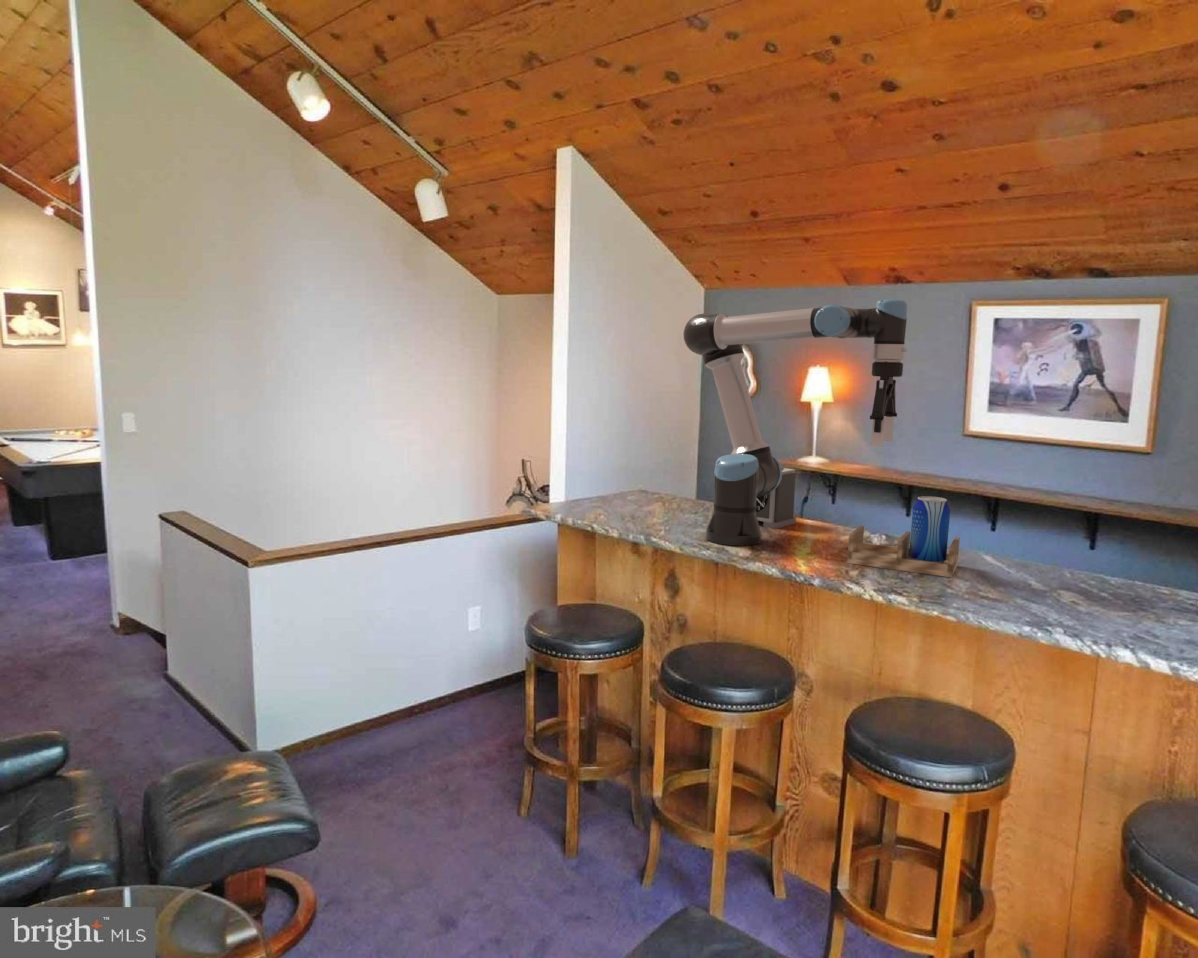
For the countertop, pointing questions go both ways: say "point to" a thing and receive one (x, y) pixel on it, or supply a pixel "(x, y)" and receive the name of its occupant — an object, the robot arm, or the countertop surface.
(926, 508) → the beer can
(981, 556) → the countertop surface
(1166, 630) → the countertop surface
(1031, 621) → the countertop surface
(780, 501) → the alarm clock
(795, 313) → the robot arm
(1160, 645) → the countertop surface
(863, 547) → the rack
